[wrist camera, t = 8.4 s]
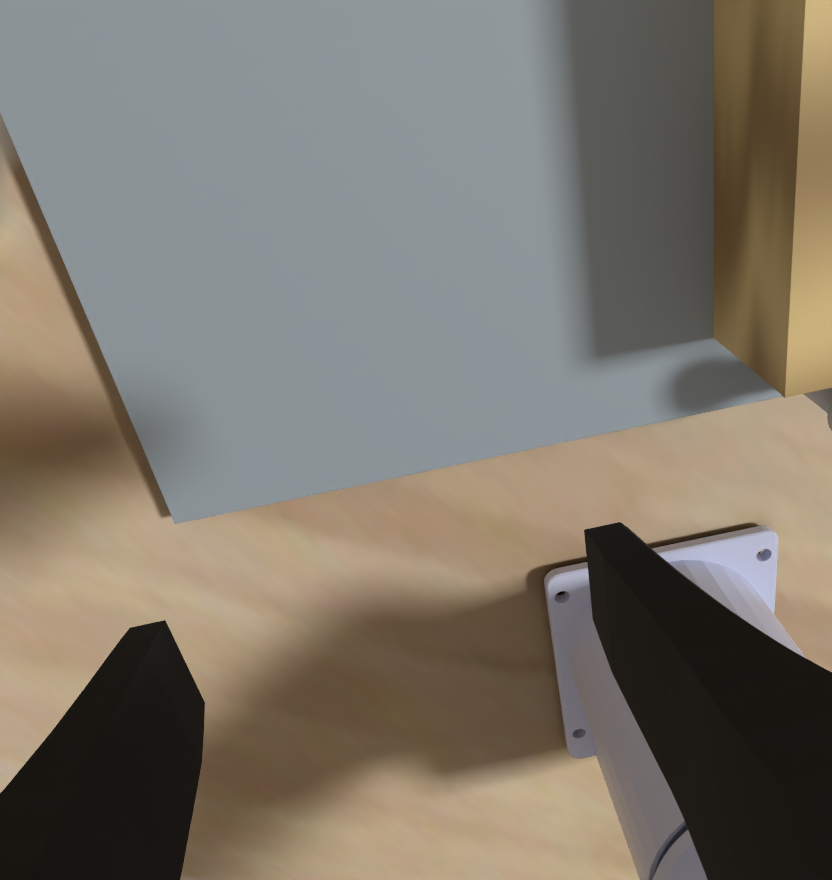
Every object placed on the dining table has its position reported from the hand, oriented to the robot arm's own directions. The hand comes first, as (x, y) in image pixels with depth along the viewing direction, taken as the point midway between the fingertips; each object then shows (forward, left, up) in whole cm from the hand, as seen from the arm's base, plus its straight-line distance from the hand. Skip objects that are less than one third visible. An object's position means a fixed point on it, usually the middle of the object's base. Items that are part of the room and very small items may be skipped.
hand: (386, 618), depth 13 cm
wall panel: (+5, -6, -10) cm, 13 cm away
